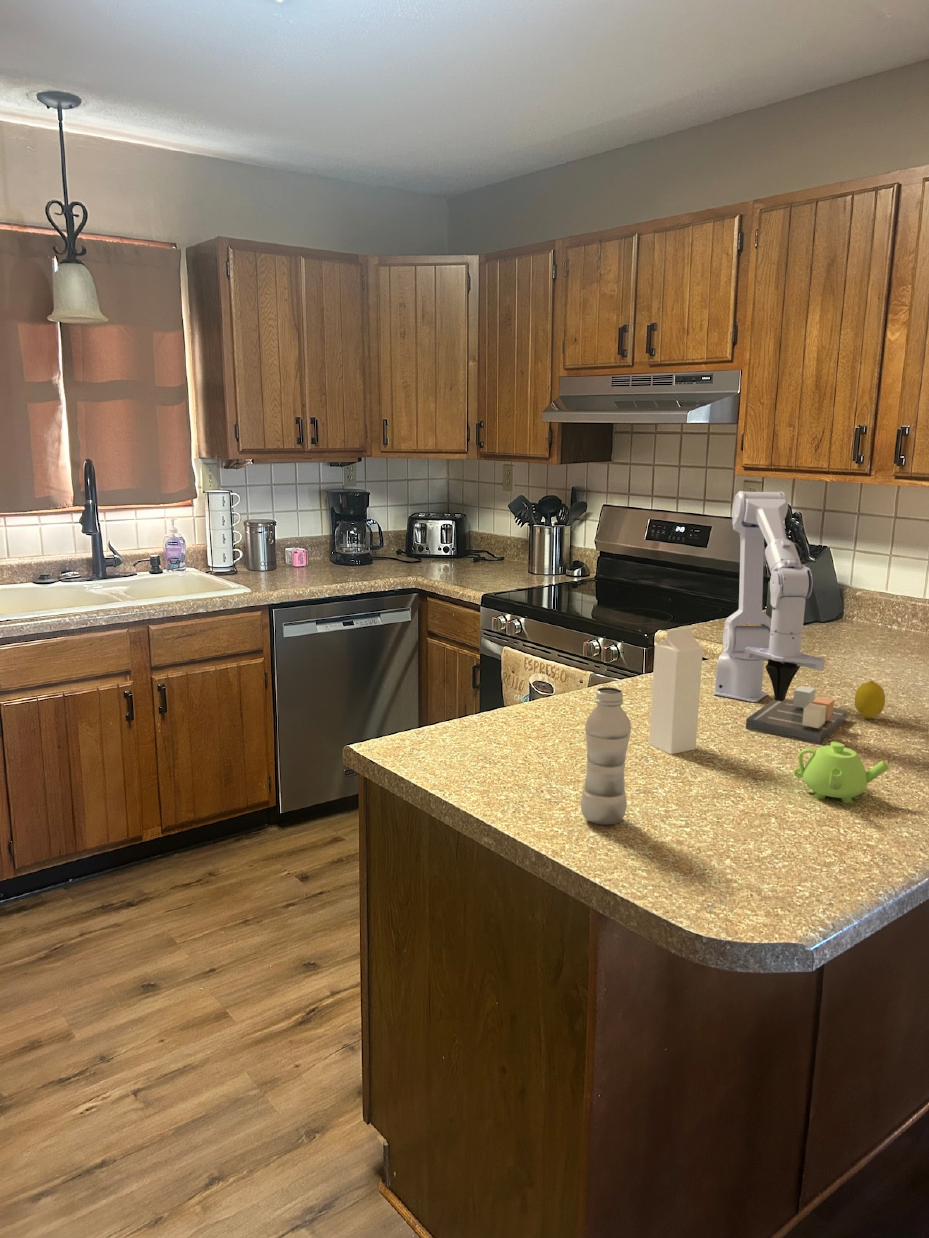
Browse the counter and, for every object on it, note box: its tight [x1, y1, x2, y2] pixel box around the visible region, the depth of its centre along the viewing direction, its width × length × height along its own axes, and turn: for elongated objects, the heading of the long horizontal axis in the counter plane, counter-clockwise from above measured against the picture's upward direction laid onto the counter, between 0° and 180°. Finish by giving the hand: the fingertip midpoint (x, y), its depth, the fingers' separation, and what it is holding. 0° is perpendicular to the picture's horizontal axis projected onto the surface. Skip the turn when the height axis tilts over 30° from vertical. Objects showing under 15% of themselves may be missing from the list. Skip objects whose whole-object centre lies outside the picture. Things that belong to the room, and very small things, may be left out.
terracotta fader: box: [812, 696, 835, 721], centre depth 175 cm, size 3×4×3 cm
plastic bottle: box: [580, 686, 632, 826], centre depth 131 cm, size 6×7×20 cm
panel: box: [745, 698, 848, 745], centre depth 178 cm, size 14×18×2 cm
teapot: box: [793, 741, 890, 804], centre depth 144 cm, size 11×12×8 cm
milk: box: [648, 627, 704, 755], centre depth 162 cm, size 6×6×22 cm
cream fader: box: [802, 703, 826, 728], centre depth 170 cm, size 3×4×3 cm
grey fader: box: [792, 685, 816, 708], centre depth 182 cm, size 3×4×3 cm
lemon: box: [854, 680, 886, 720], centre depth 181 cm, size 6×6×8 cm
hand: (779, 699), depth 174 cm, fingers closed
